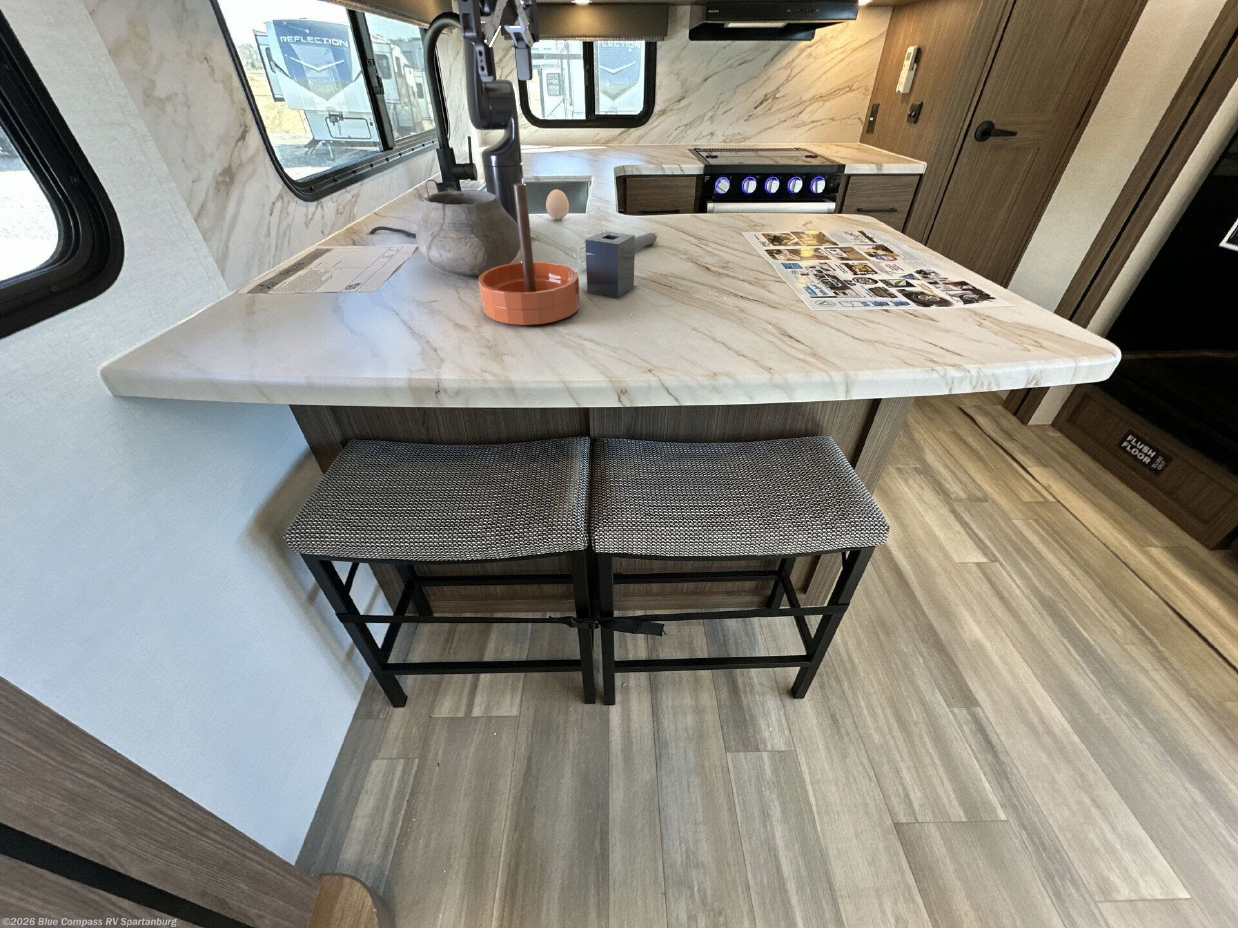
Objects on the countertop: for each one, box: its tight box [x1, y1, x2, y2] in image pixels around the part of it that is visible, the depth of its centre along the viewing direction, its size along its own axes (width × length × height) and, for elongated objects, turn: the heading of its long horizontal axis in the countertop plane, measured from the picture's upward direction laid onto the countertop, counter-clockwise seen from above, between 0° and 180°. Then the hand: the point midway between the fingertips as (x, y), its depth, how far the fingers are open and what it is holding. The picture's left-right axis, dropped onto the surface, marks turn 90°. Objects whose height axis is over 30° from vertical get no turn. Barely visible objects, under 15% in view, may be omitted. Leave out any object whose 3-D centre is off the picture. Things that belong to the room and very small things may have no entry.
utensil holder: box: [584, 230, 636, 299], centre depth 99 cm, size 7×7×10 cm
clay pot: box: [415, 189, 521, 277], centre depth 106 cm, size 22×21×15 cm
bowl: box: [477, 260, 581, 326], centre depth 92 cm, size 18×18×6 cm
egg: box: [545, 189, 570, 221], centre depth 146 cm, size 7×7×8 cm
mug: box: [425, 179, 458, 197], centre depth 137 cm, size 8×6×12 cm
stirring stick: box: [513, 183, 536, 292], centre depth 87 cm, size 2×2×20 cm
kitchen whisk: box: [573, 231, 659, 272], centre depth 117 cm, size 6×34×6 cm, turn 147°
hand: (508, 81), depth 73 cm, fingers open, 8 cm apart
